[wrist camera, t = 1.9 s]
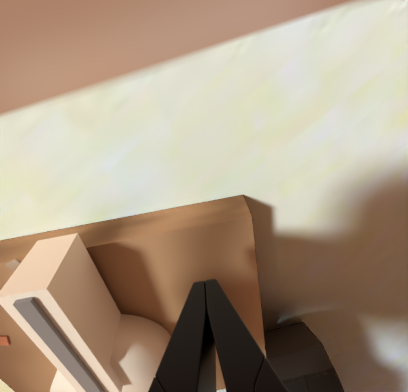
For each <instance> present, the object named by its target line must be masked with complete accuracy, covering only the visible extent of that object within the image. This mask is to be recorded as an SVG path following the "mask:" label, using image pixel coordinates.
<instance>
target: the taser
mask: <svg viewBox="0 0 408 392" xmlns="http://www.w3.org/2000/svg"><path fill="white" fill-rule="evenodd" d="M264 340H265V347H264V348H265V351H266V358H267V359H268V361H269V363H270V364H271V366H272V367H273V369H274V370H275V372H276V373H277V375H278V376H279V378H280V379H281V381H282V382H283V384H284V385H285V387H286V388H287V389H288V391H289V392H344V390H343V388H342V385H341V383H340V380H339V378H338V375H337V373H336V371H335V369H334V367H333V365H332V364H331V361H330V359H329V357H328V355H327V353H326V351H325V349H324V346H323V345H322V343H321V342H320V341H319V340H318V339H317V337H316V336H315V335H314V334H313V333H312V332H311V331H310V329H309V328H308V327H307V326H306V325H305V324H304V323H299V324H295V325H291V326H288V327H284V328H280V329H276V330H272V331H268V332H264Z"/></svg>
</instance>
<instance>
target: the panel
mask: <svg viewBox="0 0 408 392" xmlns="http://www.w3.org/2000/svg"><path fill="white" fill-rule="evenodd" d="M75 233H78V235H79V236H80V238H81V240H82V242H83V244H84V246H85V248H86V250H87V251H88V253H89V255H90V257H91V259H92V261H93V263H94V265H95V266H96V268H97V270H98V272H99V274H100V276H101V278H102V279H103V281H104V283H105V285H106V287H107V289H108V291H109V293H110V294H111V296H112V298H113V300H114V302H115V304H116V306H117V308H118V309H119V311H120V313H121V314H127V315H135V316H140V317H143V318H147V319H149V320H152V321H154V322H156V323H158V324H159V325H161V326H162V327H163V328H164V329H166V330H167V332H168V333H169V334H170V336H171V335H172V333H173V330H174V328H175V326H176V323H177V321H178V318H179V316H180V313H181V311H182V309H183V306H184V304H185V301H186V299H187V297H188V294H189V292H190V289H191V287H192V285H193V283H194V282H197V281H206V280H208V279H214V278H215V279H217V281H218V282H219V284H220V285H221V287H222V289H223V290H224V292H225V293H226V295H227V296H228V298H229V300H230V301H231V303H232V304H233V306H234V308H235V309H236V311H237V312H238V314H239V315H240V317H241V319H242V320H243V322H244V323H245V325H246V327H247V328H248V330H249V331H250V333H251V334H252V336H253V338H254V339H255V341H256V342H257V344H258V345H259V347H260V349H261V350H262V352H263V353H264V355H265V357H266V351H265V348H264V347H265V340H264V330H263V320H262V310H261V301H260V291H259V281H258V271H257V262H256V252H255V242H254V233H253V223H252V216H251V213H250V211H249V208H248V206H247V203H246V201H245V198H244V196H243V195H239V196H234V197H229V198H224V199H218V200H213V201H208V202H202V203H197V204H192V205H187V206H181V207H176V208H171V209H165V210H160V211H155V212H150V213H144V214H139V215H134V216H128V217H123V218H118V219H113V220H107V221H102V222H97V223H91V224H86V225H81V226H76V227H70V228H65V229H60V230H54V231H49V232H44V233H39V234H33V235H28V236H23V237H17V238H12V239H7V240H2V241H0V290H1V289H2V288H3V286H4V285H5V284H6V282H7V281H8V280H9V278H10V277H11V276H12V274H13V273H14V272H15V270H16V269H17V267H18V266H19V265H20V263H21V262H22V261H23V259H24V258H25V257H26V255H27V254H28V253H29V251H30V250H31V249H32V247H33V246H34V245H35V243H36V242H37V241H38V240H43V239H49V238H54V237H59V236H64V235H70V234H75ZM215 351H216V347H215ZM56 372H57V368H56V367H55V366H54V365H53V364H52V363H51V362H50V360H49V359H48V358H47V357H46V356H45V355H44V354H43V352H42V351H41V350H40V349H39V348H38V347H37V346H36V345H35V343H34V342H33V341H32V340H31V339H30V338H29V337H28V335H27V334H26V333H25V332H24V331H23V330H22V329H21V327H20V326H19V325H18V324H17V323H16V322H15V321H14V319H13V318H12V317H11V316H10V315H9V314H8V313H7V312H6V310H5V309H4V308H3V307H2V306H1V305H0V379H1V380H2V381H4V382H5V383H6V384H7V385H8V386H9V387H10V388H11V389H13V390H14V391H15V392H50V388H51V385H52V382H53V380H54V377H55V374H56ZM220 389H226V387H225V383H224V379H223V375H222V371H221V367H220V363H219V359H218V355H217V351H216V390H220Z"/></svg>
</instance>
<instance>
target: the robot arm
mask: <svg viewBox="0 0 408 392" xmlns="http://www.w3.org/2000/svg"><path fill="white" fill-rule="evenodd" d="M215 347H216V351H217V355H218V359H219V363H220V367H221V371H222V375H223V379H224V383H225V387H226V391H227V392H289V391H288V389H287V388H286V387H285V385H284V384H283V382H282V381H281V379H280V378H279V376H278V375H277V373H276V372H275V370H274V369H273V367H272V366H271V364H270V363H269V361H268V359H267V358H266V357H265V355H264V353H263V352H262V350H261V349H260V347H259V345H258V344H257V342H256V341H255V339H254V338H253V336H252V334H251V333H250V331H249V330H248V328H247V327H246V325H245V323H244V322H243V320H242V319H241V317H240V315H239V314H238V312H237V311H236V309H235V308H234V306H233V304H232V303H231V301H230V300H229V298H228V296H227V295H226V293H225V292H224V290H223V289H222V287H221V285H220V284H219V282H218V281H217V279H215V278H214V279H208V280H206V281H197V282H194V283H193V285H192V287H191V289H190V292H189V294H188V297H187V299H186V301H185V304H184V306H183V309H182V311H181V313H180V316H179V318H178V321H177V323H176V326H175V328H174V330H173V333H172V335H171V338H170V340H169V342H168V345H167V347H166V350H165V352H164V355H163V357H162V359H161V362H160V364H159V367H158V369H157V371H156V374H155V376H156V377H154V378H153V381H152V383H151V386H150V388H149V391H148V392H216V351H215Z"/></svg>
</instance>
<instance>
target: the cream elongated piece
mask: <svg viewBox="0 0 408 392" xmlns="http://www.w3.org/2000/svg"><path fill="white" fill-rule="evenodd" d="M0 305H1V306H2V307H3V308H4V309H5V310H6V312H7V313H8V314H9V315H10V316H11V317H12V318H13V319H14V321H15V322H16V323H17V324H18V325H19V326H20V327H21V329H22V330H23V331H24V332H25V333H26V334H27V335H28V337H29V338H30V339H31V340H32V341H33V342H34V343H35V345H36V346H37V347H38V348H39V349H40V350H41V351H42V352H43V354H44V355H45V356H46V357H47V358H48V359H49V360H50V362H51V363H52V364H53V365H54V366H55V367H56V368H57V372H56V374H55V377H54V380H53V382H52V385H51V388H50V392H148V391H149V388H150V386H151V383H152V381H153V378H154V377H156V376H155V374H156V371H157V369H158V367H159V364H160V362H161V359H162V357H163V355H164V352H165V350H166V347H167V345H168V342H169V340H170V338H171V336H170V334H169V333H168V332H167V330H166V329H164V328H163V327H162V326H161V325H159V324H158V323H156V322H154V321H152V320H149V319H147V318H143V317H140V316H135V315H127V314H121V313H120V311H119V309H118V308H117V306H116V304H115V302H114V300H113V298H112V296H111V294H110V293H109V291H108V289H107V287H106V285H105V283H104V281H103V279H102V278H101V276H100V274H99V272H98V270H97V268H96V266H95V265H94V263H93V261H92V259H91V257H90V255H89V253H88V251H87V250H86V248H85V246H84V244H83V242H82V240H81V238H80V236H79V235H78V233H75V234H70V235H64V236H59V237H54V238H49V239H43V240H38V241H37V242H36V243H35V245H34V246H33V247H32V249H31V250H30V251H29V253H28V254H27V255H26V257H25V258H24V259H23V261H22V262H21V263H20V265H19V266H18V267H17V269H16V270H15V272H14V273H13V274H12V276H11V277H10V278H9V280H8V281H7V282H6V284H5V285H4V286H3V288H2V289H1V290H0Z"/></svg>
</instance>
